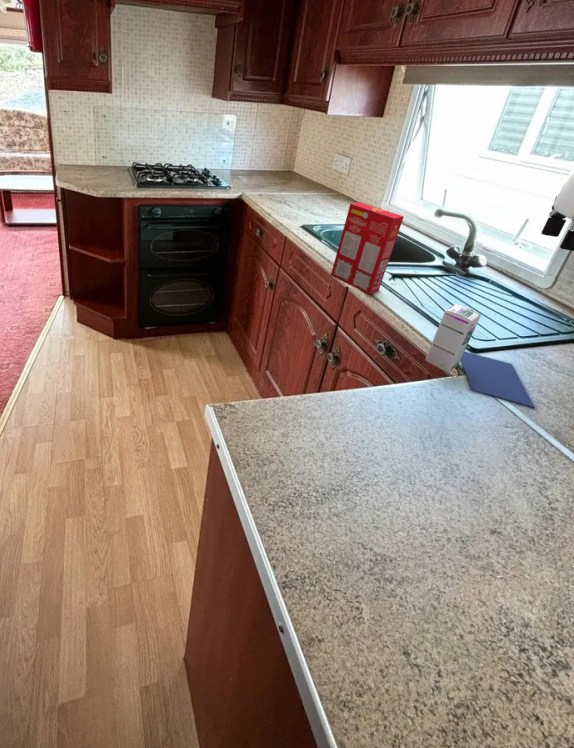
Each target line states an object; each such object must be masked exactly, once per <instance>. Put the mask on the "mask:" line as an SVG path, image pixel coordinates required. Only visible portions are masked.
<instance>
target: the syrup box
mask: <svg viewBox="0 0 574 748" xmlns="http://www.w3.org/2000/svg"><path fill="white" fill-rule="evenodd" d="M481 315H482V314H481V313H479V312H477V311H475V310H473V309H471V308H469V307H466V306H463V305H460V304H457V303H455V304H454V305H452V306H450V307H448V308H447V309H445V311H444V312H443V315H442V318H441V320H440V323H439V325H438V327H437V329H436V332H435V335H434V337H433V340H432V342H431V344H430V347H429V349H428V352H427V354H426V356H425V359H424V360H425V361H426V362H427V363H429V364H431V365H432V366H434V367H436V368H438V369H440V370H441V371H444V372H446V373H447V374H449V373H451V372H452V371H453V370H454V369H456V367H458V366H459V365H460V362H461V358H462V356H463V354H464V352H466V350H467V347H468V345H469V343H470V340H471V338H472V336H473V333H474V332H475V330H476V327H477V325H478V323H479V321H480V318H481Z"/></svg>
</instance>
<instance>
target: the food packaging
mask: <svg viewBox="0 0 574 748" xmlns="http://www.w3.org/2000/svg"><path fill="white" fill-rule="evenodd" d="M403 220H404V215H401V214H399V213H395V212H392V211H389V210H385V209H382V208H379V207H376V206H373V205H370V204H367V203H364V202H361V201H357V202H352V203H350V204H349V207H348V210H347V215H346V218H345V222H344V225H343V229H342V232H341V236H340V240H339V244H338V247H337V251H336V254H335V257H334V262H333V265H332V270H331V272H330V276H331V277H333V278H335V279H337V280H339V281H341V282H343V283H345V284H347V285H349V286H351V287H354V288H355V289H357V290H359V291H362V292H363V293H365V294H367V295H373V294H375V293H377V292H379V291H380V289H381V285H382V282H383V279H384V277H385V273H386V271H387V269H388V264H389V261H390V258H391V256H392V253H393V249H394V247H395V244H396V241H397V238H398V236H399V232H400V229H401V226H402V223H403Z"/></svg>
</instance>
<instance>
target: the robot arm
mask: <svg viewBox="0 0 574 748" xmlns="http://www.w3.org/2000/svg"><path fill="white" fill-rule="evenodd" d="M571 167H573V168H572V169H571V171H570V173H569V175H568V176H567V178H566V179H565V181H564V183H563V185H562V187H561V188H560V191H559V193H558V194H557V195H556V196H555V197H554V203H553V205H552V206H551V211H550V212H549V214H548V218H547V220H546V222H545V224H544V226H543V228H542V230H541V235H543V236H549V237H554V238H558V237H559V236H560V235H561V233H562V230H563V228H564V226H565V224H566V222H567V219H569V220H571V228H570V229H567V231H566V233H565V235H564V238H563V240H562V241H561V243H560V245H559V248H560V249H561V250H565V251H571V252H574V161H573V162H572V164H571ZM566 218H567V219H566Z"/></svg>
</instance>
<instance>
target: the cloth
mask: <svg viewBox="0 0 574 748" xmlns="http://www.w3.org/2000/svg"><path fill="white" fill-rule="evenodd" d="M460 362H461V366H462V368H463V371H464V374H465V376H466V379H467V383H468V385H469V388H470V391H473V392H476V393H480V394H483V395H487V396H490V397H494V398H497V399H501V400H504V401H508V402H510V403H511V402H512V403H515V404H518V405H522V406H526V407H528V408H529V407H530V408H532V409H534V408H535V405H534V403H533V401H532V399H531V398H530V396H529V394H528V392H527V389H526V388H525V386H524V385H523V382H522V381H521V379H520V377H519V375H518V373H517V371H516V369H515V368H514V366H513V364H512V363H510V362H506V361H503V360H498V359H495V358H491V357H486V356H483V355H479V354H476V353H473V352H472V353H471V352H467V351H465V352H464V354H463V356H462V358H461V360H460Z"/></svg>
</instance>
